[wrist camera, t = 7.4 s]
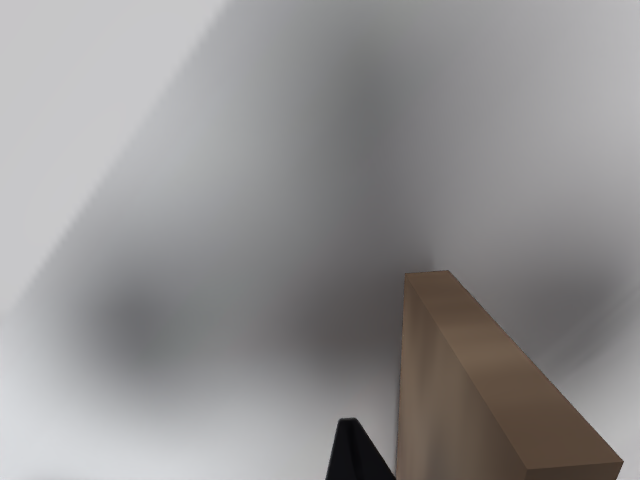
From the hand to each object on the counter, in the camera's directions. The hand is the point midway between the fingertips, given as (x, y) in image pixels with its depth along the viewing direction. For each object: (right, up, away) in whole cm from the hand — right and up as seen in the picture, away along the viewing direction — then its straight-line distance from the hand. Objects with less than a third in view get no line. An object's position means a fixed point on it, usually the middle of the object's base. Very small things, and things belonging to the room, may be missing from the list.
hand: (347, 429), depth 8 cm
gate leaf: (+3, -2, +3) cm, 4 cm away
